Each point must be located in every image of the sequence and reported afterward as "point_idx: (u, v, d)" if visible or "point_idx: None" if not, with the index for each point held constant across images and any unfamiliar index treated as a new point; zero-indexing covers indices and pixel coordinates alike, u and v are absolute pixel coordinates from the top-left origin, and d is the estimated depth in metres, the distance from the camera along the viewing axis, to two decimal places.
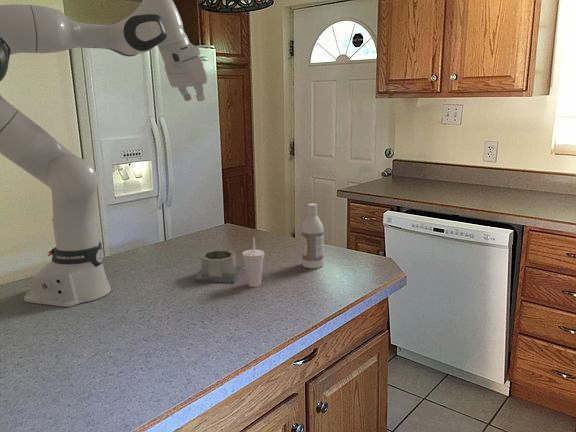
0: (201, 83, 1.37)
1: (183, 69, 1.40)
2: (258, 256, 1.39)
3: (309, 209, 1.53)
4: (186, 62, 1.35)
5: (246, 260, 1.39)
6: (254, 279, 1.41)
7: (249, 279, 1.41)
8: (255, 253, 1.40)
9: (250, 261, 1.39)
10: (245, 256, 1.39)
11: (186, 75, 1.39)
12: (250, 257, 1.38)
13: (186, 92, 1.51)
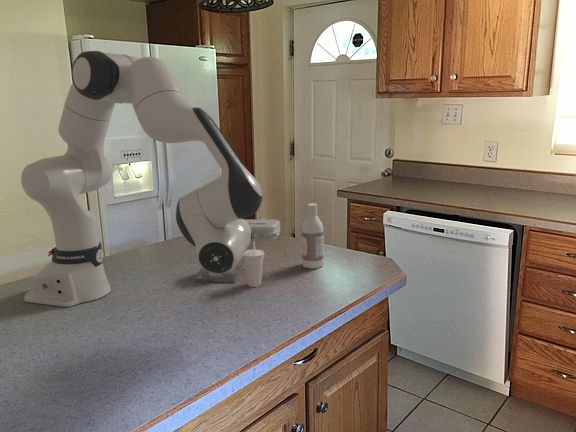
0: None
1: None
2: (258, 256, 1.39)
3: (309, 209, 1.53)
4: None
5: (246, 260, 1.39)
6: (254, 279, 1.41)
7: (249, 279, 1.41)
8: (255, 253, 1.40)
9: (250, 261, 1.39)
10: (245, 256, 1.39)
11: None
12: (250, 257, 1.38)
13: None
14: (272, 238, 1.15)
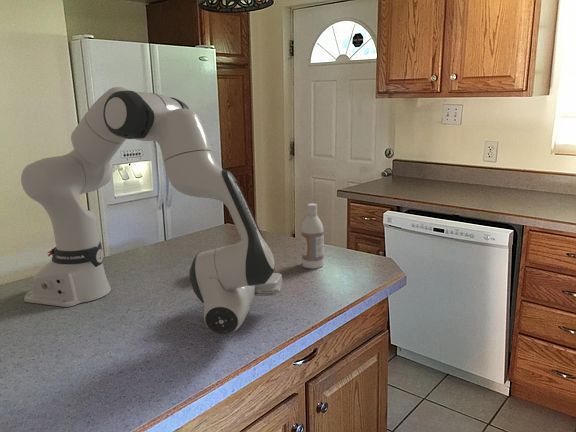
0: None
1: None
2: None
3: (309, 209, 1.53)
4: None
5: None
6: None
7: None
8: None
9: None
10: None
11: None
12: None
13: None
14: (274, 293, 1.21)
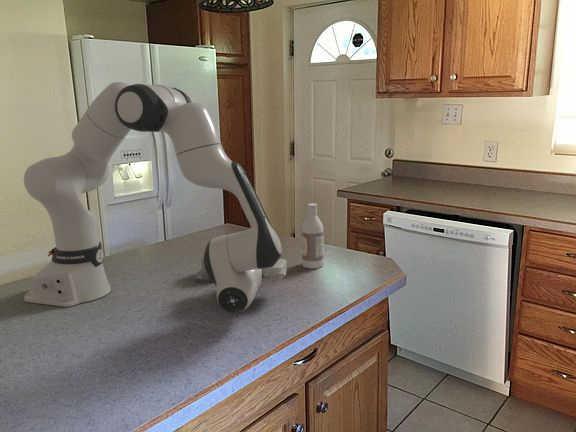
0: None
1: None
2: None
3: (309, 209, 1.53)
4: None
5: None
6: None
7: None
8: None
9: None
10: None
11: None
12: None
13: None
14: (280, 277, 1.31)
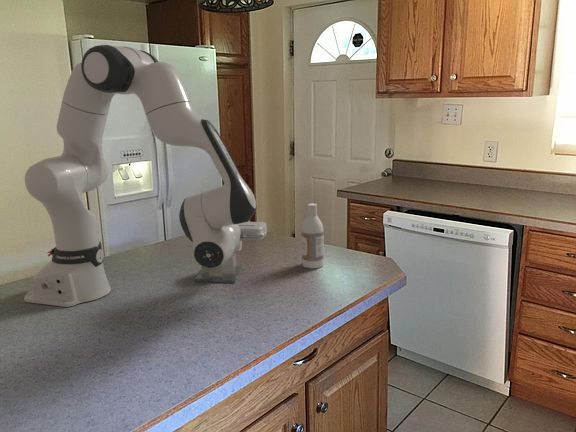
0: None
1: None
2: None
3: (309, 209, 1.53)
4: None
5: None
6: None
7: None
8: None
9: None
10: None
11: None
12: None
13: None
14: (259, 238, 1.32)
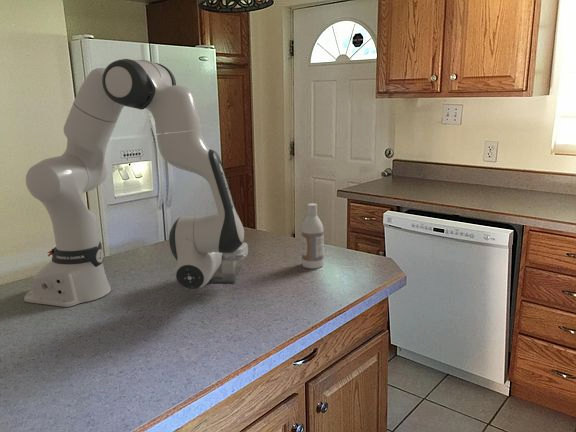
0: None
1: None
2: None
3: (309, 209, 1.53)
4: None
5: None
6: None
7: None
8: None
9: None
10: None
11: None
12: None
13: None
14: (240, 258, 1.38)
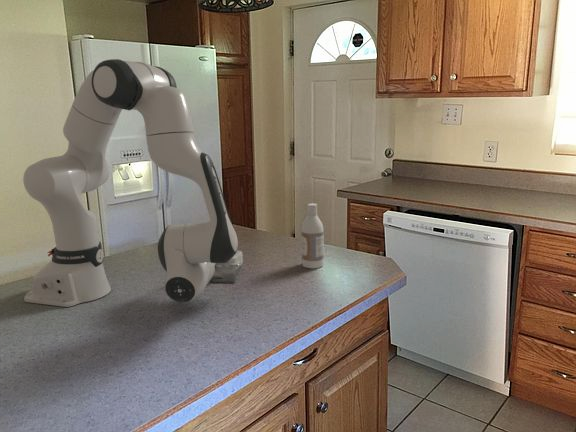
0: None
1: None
2: None
3: (309, 209, 1.53)
4: None
5: None
6: None
7: None
8: None
9: None
10: None
11: None
12: None
13: None
14: (234, 268, 1.30)
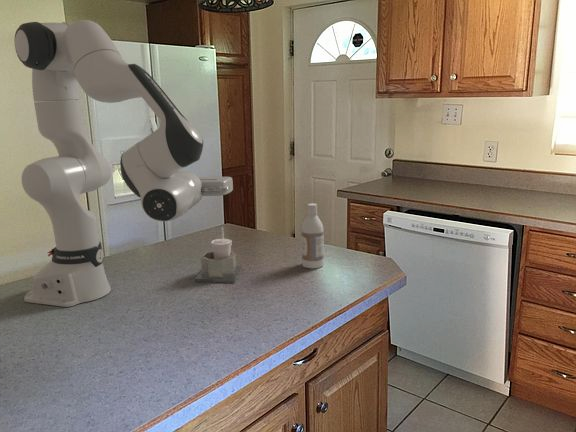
0: None
1: None
2: (216, 245, 1.46)
3: (309, 209, 1.53)
4: None
5: None
6: None
7: None
8: (219, 242, 1.48)
9: (212, 248, 1.48)
10: None
11: None
12: (211, 244, 1.48)
13: None
14: (222, 193, 1.17)
